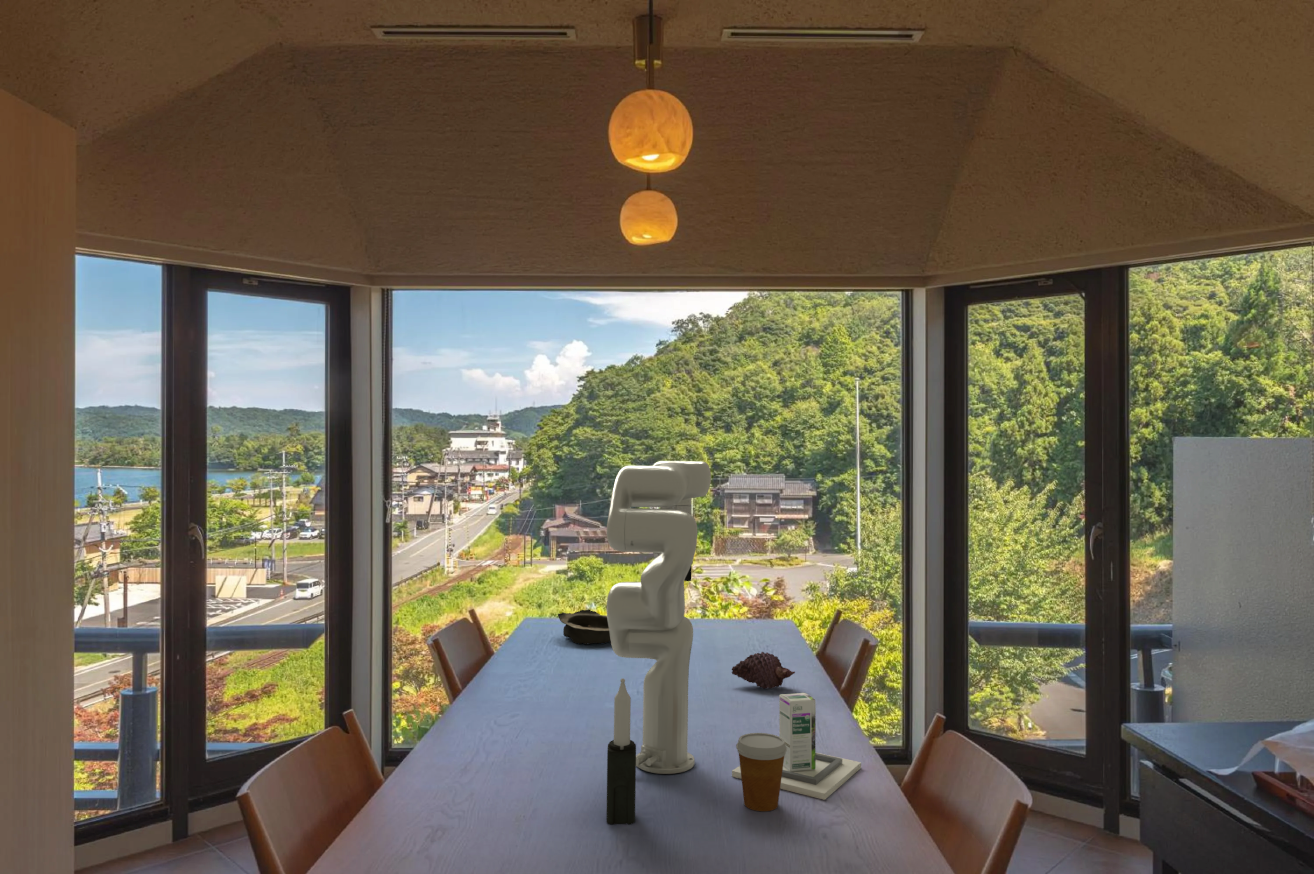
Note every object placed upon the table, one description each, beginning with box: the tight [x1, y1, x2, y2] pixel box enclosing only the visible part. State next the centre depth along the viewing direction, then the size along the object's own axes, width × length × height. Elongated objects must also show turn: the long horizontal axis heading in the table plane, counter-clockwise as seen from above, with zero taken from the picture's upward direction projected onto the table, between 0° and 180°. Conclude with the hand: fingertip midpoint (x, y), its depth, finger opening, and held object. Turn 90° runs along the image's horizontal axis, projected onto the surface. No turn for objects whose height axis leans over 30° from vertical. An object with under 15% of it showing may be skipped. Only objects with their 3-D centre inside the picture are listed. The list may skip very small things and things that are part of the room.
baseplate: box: [731, 751, 862, 801], centre depth 174 cm, size 20×20×2 cm
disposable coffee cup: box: [735, 732, 787, 812], centre depth 158 cm, size 10×10×12 cm
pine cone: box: [731, 651, 796, 690], centre depth 238 cm, size 18×10×10 cm, turn 83°
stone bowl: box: [557, 609, 611, 645], centre depth 296 cm, size 25×25×9 cm
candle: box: [605, 678, 637, 825], centre depth 152 cm, size 5×5×25 cm
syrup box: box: [778, 692, 817, 772], centre depth 175 cm, size 6×6×14 cm
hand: (674, 583), depth 204 cm, fingers open, 9 cm apart
